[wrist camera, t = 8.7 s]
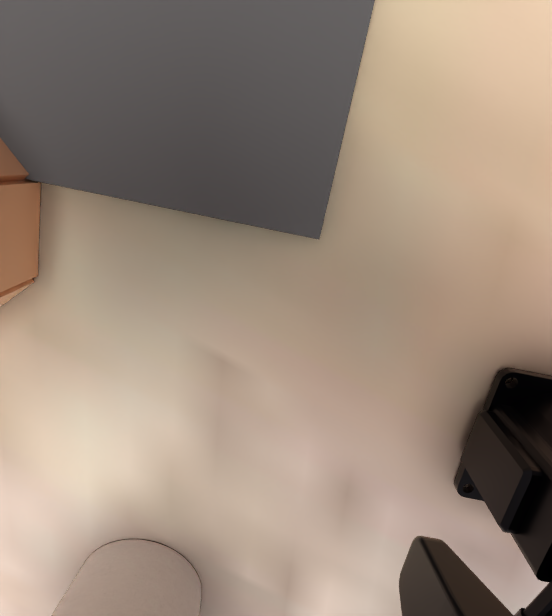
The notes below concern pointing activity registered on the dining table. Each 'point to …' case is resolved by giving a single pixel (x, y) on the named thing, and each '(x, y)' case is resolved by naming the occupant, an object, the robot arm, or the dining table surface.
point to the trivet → (185, 101)
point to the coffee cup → (133, 583)
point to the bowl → (17, 226)
